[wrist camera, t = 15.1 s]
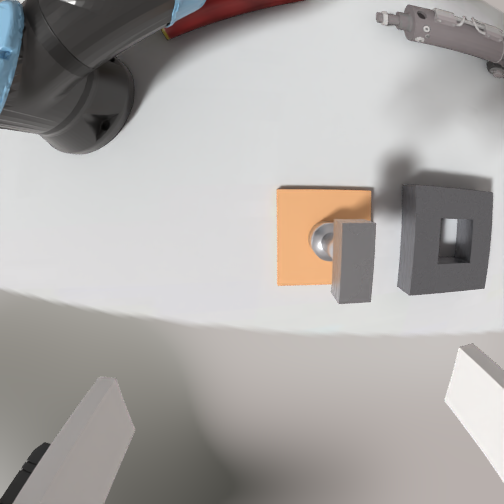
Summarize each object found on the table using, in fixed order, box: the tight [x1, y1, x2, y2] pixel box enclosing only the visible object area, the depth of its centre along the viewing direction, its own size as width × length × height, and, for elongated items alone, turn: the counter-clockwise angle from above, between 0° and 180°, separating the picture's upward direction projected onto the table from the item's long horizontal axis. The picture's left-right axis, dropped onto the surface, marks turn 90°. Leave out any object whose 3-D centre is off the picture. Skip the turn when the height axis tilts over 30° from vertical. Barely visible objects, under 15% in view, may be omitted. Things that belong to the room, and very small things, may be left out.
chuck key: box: [308, 219, 376, 304], centre depth 32 cm, size 7×4×13 cm, turn 1°
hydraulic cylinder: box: [376, 5, 504, 78], centre depth 28 cm, size 7×37×10 cm, turn 90°
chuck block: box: [397, 185, 493, 295], centre depth 36 cm, size 14×14×4 cm
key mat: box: [277, 189, 371, 286], centre depth 38 cm, size 12×12×1 cm
